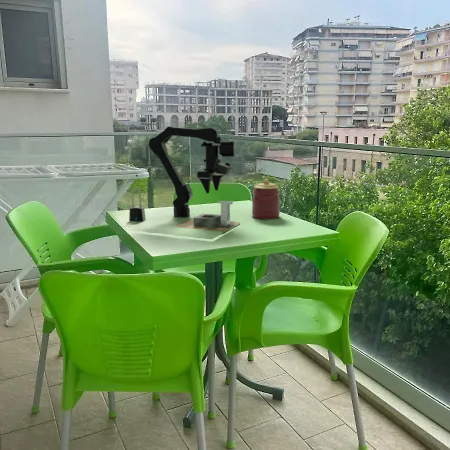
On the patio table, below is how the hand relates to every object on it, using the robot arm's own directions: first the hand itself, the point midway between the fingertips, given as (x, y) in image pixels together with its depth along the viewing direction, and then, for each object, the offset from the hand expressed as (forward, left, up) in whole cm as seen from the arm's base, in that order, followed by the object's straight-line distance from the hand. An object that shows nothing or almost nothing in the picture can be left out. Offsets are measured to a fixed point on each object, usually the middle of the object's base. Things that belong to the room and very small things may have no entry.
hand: (212, 191), depth 188 cm
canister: (+21, +14, -13) cm, 28 cm away
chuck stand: (+4, -15, -12) cm, 20 cm away
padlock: (-30, -16, -13) cm, 36 cm away
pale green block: (+13, -15, -11) cm, 23 cm away
